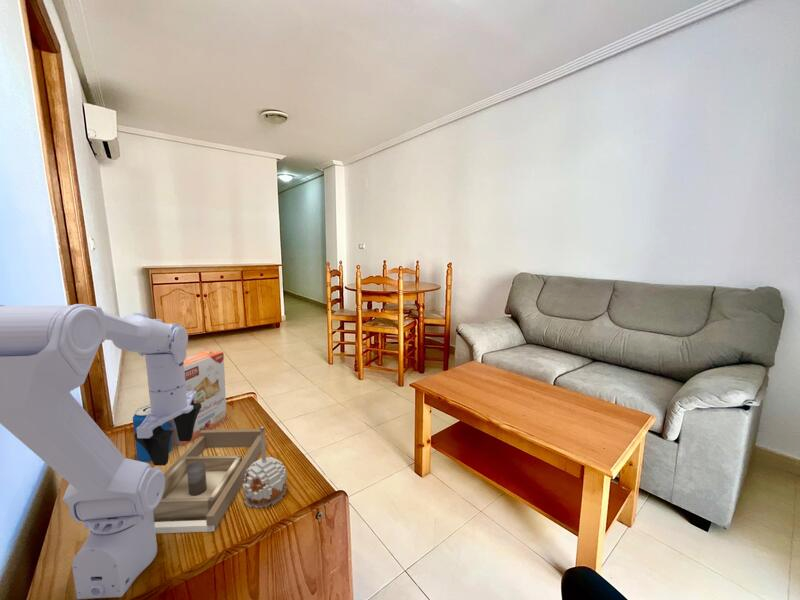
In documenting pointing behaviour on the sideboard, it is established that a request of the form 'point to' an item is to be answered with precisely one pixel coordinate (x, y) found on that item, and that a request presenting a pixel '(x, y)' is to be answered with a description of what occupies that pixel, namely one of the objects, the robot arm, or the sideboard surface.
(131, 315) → the robot arm
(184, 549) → the sideboard surface
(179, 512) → the beige shallow open box
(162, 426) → the beverage can
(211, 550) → the sideboard surface
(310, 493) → the sideboard surface
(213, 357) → the cracker box
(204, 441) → the bay
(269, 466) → the decorative ornament
